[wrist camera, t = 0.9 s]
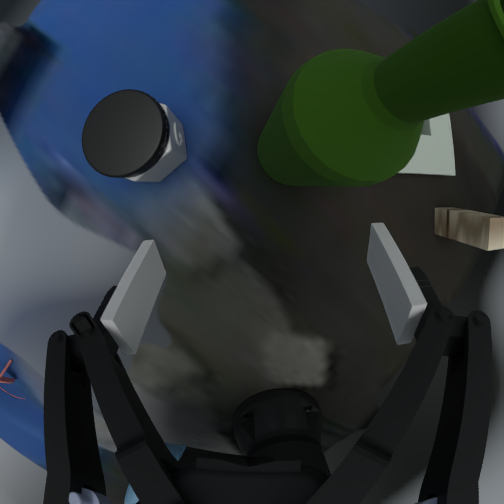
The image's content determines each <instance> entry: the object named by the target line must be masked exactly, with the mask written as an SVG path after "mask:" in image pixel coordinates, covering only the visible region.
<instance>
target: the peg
mask: <svg viewBox="0 0 504 504" xmlns="http://www.w3.org/2000/svg"><path fill="white" fill-rule="evenodd" d="M434 234H437V235H440V236H443V237H446V238H450V239H453V240H456V241H460V242H463V243H466V244H469V245H472V246H475V247H478V248H481V249H484V250H487V251H489V250H496V249H502V248H504V217H502V216H497V215H492V214H487V213H481V212H476V211H470V210H467V209H459V208H453V207H450V208H435V232H434Z"/></svg>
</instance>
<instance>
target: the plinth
mask: <svg viewBox="0 0 504 504" xmlns="http://www.w3.org/2000/svg"><path fill="white" fill-rule="evenodd" d="M398 173H403V174H428V175H452V176H455V162H454V150H453V140H452V131H451V124H450V117H449V113H448V114H445V115H441V116H438V117H435V118H431V119H428V120H425V121H424V124H423V128H422V132H421V136H420V140H419V143H418V146H417V148H416V151H415V154H414V156H413V157H412V159H411V160H410V161H409V163H408V164H407V165H406V167H405V168H403V169H402V170H401V171H399V172H398Z"/></svg>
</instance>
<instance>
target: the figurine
mask: <svg viewBox="0 0 504 504" xmlns="http://www.w3.org/2000/svg"><path fill="white" fill-rule="evenodd" d="M11 362H12V360H11V359H10V361H9V362H8V363H7V365H6V366H5V368H4V369H3V371H2V372H1V374H0V382H2V383H13V382H14V381H15V379H14V378H8V377H2V376H3V374H4V373H5V371H6V370H7V368H8V367H9V365H10V364H11ZM0 388H1V387H0ZM1 389H2V388H1ZM4 391H5V390H4ZM5 392H6V391H5ZM7 393H8V392H7ZM8 394H9V393H8ZM10 395H11V394H10ZM12 396H13V395H12ZM14 397H15V396H14ZM17 398H18V397H17ZM20 399H23V398H20Z"/></svg>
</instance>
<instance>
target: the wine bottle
mask: <svg viewBox="0 0 504 504" xmlns="http://www.w3.org/2000/svg"><path fill="white" fill-rule="evenodd" d="M501 99H504V0H477V1H476V2H474V3H472V4H470V5H468V6H467V7H465V8H463V9H461V10H460V11H458V12H456V13H455V14H453V15H451V16H449V17H448V18H446V19H445V20H443V21H442V22H440V23H438V24H436V25H435V26H433V27H432V28H430V29H428V30H427V31H425V32H424V33H422V34H421V35H419V36H418V37H416V38H415V39H413V40H411V41H410V42H409V43H407V44H406V45H404V46H403V47H401V48H400V49H398V50H397V51H395V52H394V53H392V54H391V55H390V56H388V57H387V58H385V57H382V56H378V55H375V54H371V53H368V52H364V51H360V50H353V49H336V50H330V51H326V52H324V53H322V54H320V55H318V56H316V57H314V58H312V59H310V60H309V61H307V62H305V63H304V64H303V65H302V66H301V67H300V68H298V69H297V70H296V71H295V72H294V73H293V74H292V76H291V78H290V80H289V82H288V84H287V85H286V87H285V89H284V91H283V93H282V95H281V97H280V98H279V100H278V102H277V104H276V106H275V108H274V110H273V112H272V114H271V116H270V117H269V119H268V121H267V123H266V125H265V127H264V129H263V131H262V133H261V135H260V137H259V140H258V145H257V153H258V159H259V161H260V164H261V167H262V168H263V169H264V171H265V172H266V174H267V175H269V176H270V177H271V178H272V179H273V180H275V181H277V182H279V183H281V184H284V185H289V186H346V187H356V186H370V185H373V184H376V183H379V182H382V181H385V180H386V179H388V178H390V177H392V176H394V175H395V174H397V173H398V172H399V171H401V170H402V169H403V168H405V167H406V165H407V164H408V163H409V161H410V160H411V159H412V157H413V156H414V154H415V151H416V148H417V146H418V143H419V140H420V136H421V132H422V128H423V124H424V121H425V120H428V119H431V118H435V117H438V116H441V115H445V114H448V113H452V112H455V111H459V110H462V109H466V108H470V107H473V106H477V105H481V104H485V103H488V102H493V101H497V100H501Z"/></svg>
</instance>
